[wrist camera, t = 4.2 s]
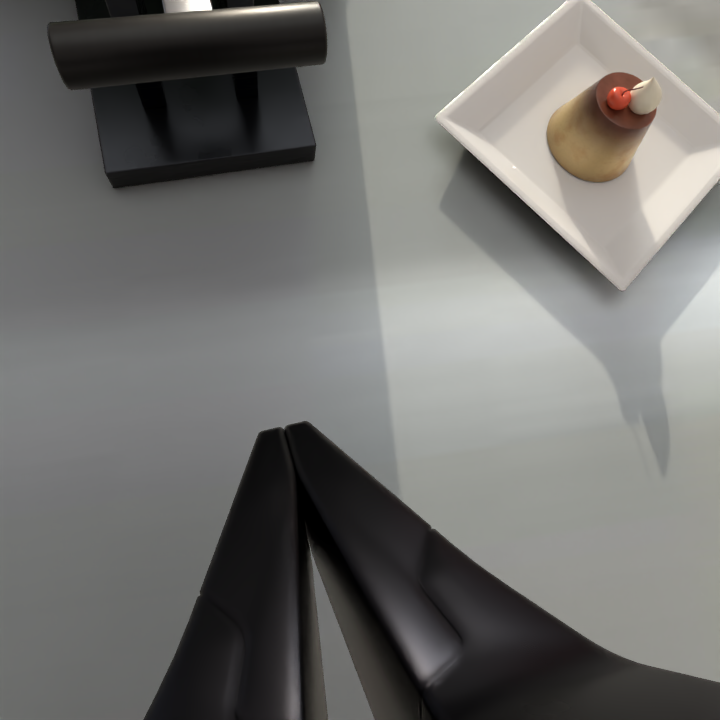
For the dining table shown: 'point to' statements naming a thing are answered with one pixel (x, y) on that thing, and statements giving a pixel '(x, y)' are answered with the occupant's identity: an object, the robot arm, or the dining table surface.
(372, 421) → the dining table surface
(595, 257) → the dessert
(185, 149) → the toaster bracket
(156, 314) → the dining table surface
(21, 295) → the dining table surface
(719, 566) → the dining table surface
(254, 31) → the lever
